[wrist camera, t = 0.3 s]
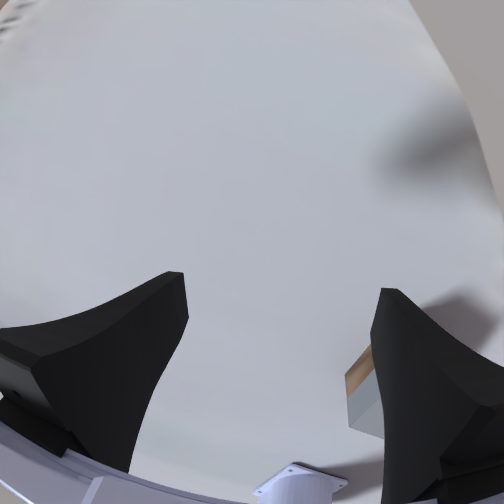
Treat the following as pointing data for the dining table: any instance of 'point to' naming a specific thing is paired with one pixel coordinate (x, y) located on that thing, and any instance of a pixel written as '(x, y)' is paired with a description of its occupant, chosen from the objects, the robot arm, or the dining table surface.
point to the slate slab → (366, 407)
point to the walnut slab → (359, 371)
